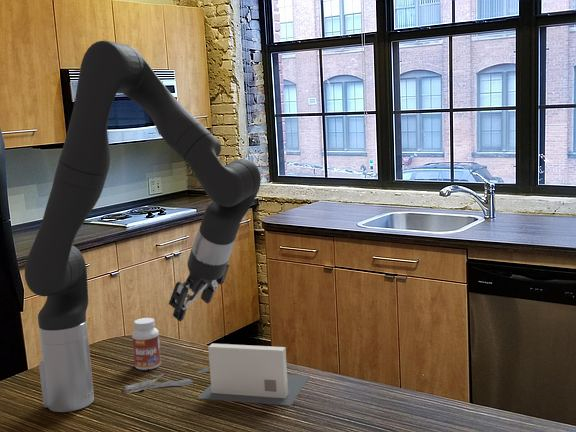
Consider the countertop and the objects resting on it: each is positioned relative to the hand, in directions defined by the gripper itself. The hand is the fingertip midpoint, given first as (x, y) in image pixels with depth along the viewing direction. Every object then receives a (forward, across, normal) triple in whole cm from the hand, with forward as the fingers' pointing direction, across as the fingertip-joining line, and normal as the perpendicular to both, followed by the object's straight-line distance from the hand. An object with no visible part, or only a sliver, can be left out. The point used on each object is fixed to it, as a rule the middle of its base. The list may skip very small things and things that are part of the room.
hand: (191, 309), depth 139 cm
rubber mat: (+11, -4, +18) cm, 22 cm away
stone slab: (+22, +2, +1) cm, 22 cm away
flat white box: (+9, -1, +19) cm, 21 cm away
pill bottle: (+28, -3, -8) cm, 29 cm away
